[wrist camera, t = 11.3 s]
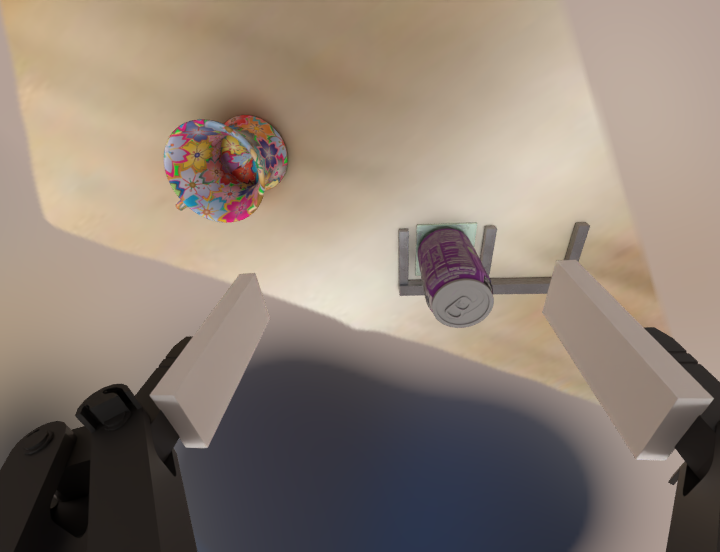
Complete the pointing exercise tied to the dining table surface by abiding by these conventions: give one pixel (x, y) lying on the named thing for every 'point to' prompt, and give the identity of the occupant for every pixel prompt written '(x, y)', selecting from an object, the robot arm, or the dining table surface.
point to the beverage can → (454, 279)
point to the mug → (224, 166)
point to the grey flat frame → (481, 258)
